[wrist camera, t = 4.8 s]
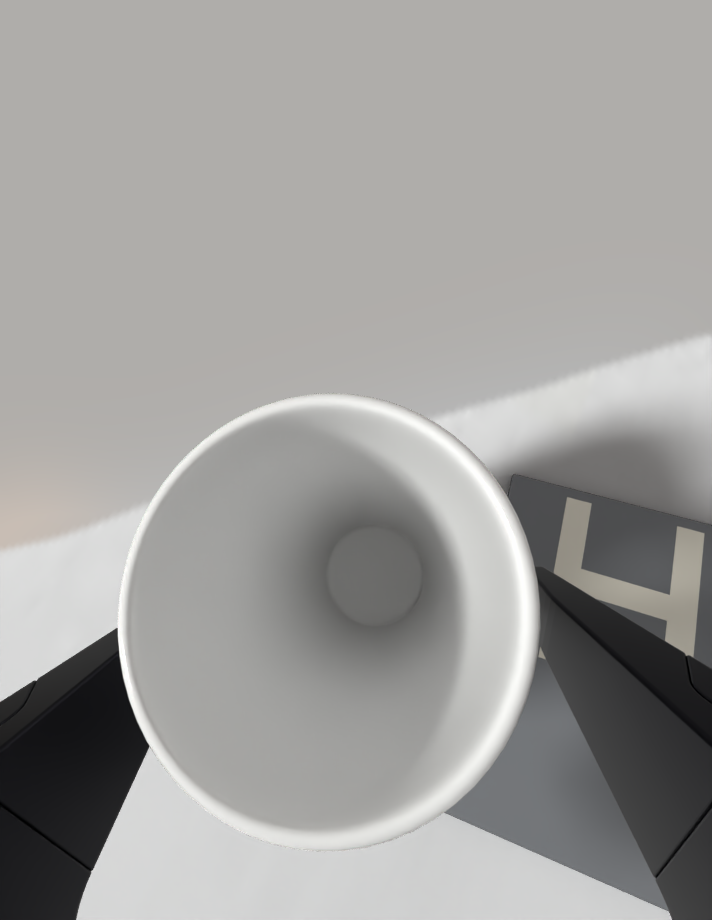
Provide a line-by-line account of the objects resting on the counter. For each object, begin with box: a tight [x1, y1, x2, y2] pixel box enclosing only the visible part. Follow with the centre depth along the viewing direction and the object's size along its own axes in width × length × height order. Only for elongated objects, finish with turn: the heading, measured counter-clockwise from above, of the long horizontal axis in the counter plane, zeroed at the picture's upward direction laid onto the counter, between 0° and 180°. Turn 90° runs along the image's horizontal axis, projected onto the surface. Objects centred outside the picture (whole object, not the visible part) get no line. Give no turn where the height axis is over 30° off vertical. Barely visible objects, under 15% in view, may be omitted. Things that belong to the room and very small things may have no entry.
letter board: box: [444, 474, 712, 911], centre depth 17 cm, size 16×12×1 cm
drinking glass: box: [118, 393, 540, 852], centre depth 13 cm, size 7×7×15 cm
